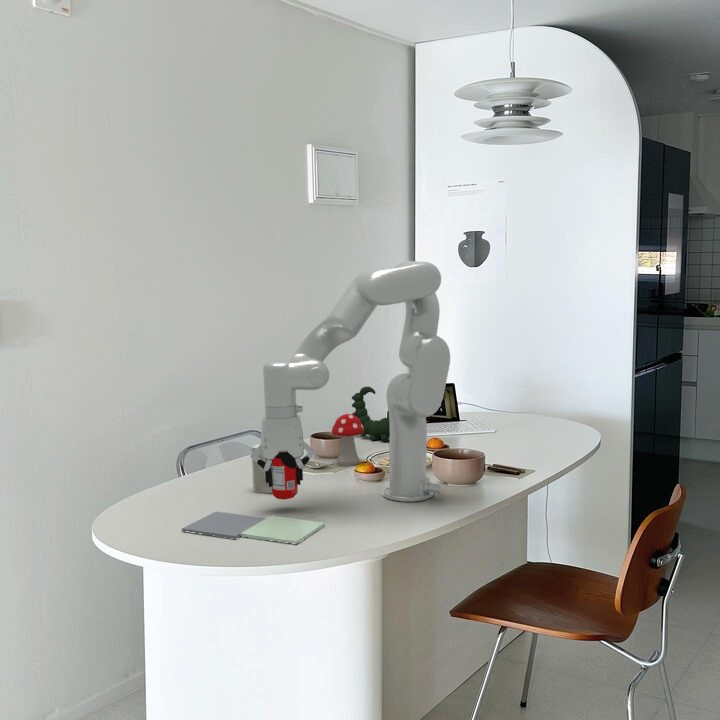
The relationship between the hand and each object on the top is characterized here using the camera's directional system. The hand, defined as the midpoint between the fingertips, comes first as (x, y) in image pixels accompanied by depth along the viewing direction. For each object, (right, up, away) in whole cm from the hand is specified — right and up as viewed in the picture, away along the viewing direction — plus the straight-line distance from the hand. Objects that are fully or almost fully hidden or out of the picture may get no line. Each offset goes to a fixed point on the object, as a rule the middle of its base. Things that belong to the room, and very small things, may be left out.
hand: (284, 483), depth 212 cm
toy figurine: (+27, +3, +78) cm, 83 cm away
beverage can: (0, -3, 0) cm, 3 cm away
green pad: (+1, -9, -15) cm, 18 cm away
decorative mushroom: (+15, -1, +47) cm, 49 cm away
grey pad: (-13, -8, -12) cm, 19 cm away
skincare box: (-6, -5, +18) cm, 20 cm away
